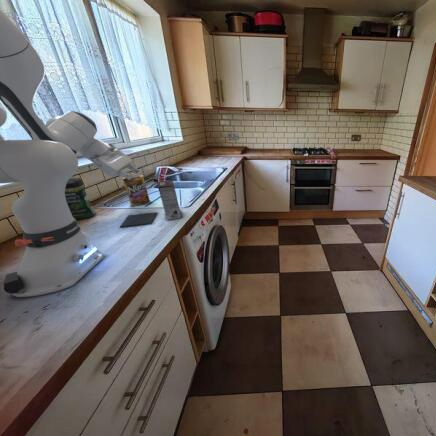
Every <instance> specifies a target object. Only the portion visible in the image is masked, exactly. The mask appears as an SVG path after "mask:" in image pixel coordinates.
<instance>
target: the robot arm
mask: <svg viewBox="0 0 436 436" xmlns="http://www.w3.org/2000/svg"><path fill="white" fill-rule="evenodd" d="M45 73H46V67H45V63H44V61H43V59H42V57H41V55H40V54H39V52H38V51H37V50H36V49H35V47H34V45H32V43H31V42H30V41H29V40H28V38H27V37H26V36H25V35H24V33H23V32H22V31H21V30H20V29H19V27H18V26H17V25H16V24H15V22H14V21H12V20H11V19H10V17H8V15H7V14H6V13H5V12H4V11H3V10H2V8H0V128H1V127H2V126H4V124H6V121H7V118H8V113H7V110H8V112H9V113H10V114H11V115H12V117H14V118H15V120H16V121H17V122H18V123H19V125H20V126H21V127H22V128H23V130H24V131H25V132H26V133H27V134H28V136H29V137H30V138H31V139H7V138H5V137H4V136H3V134H1V133H0V184H14V183H20V184H21V185H22V187H23V195H21V196H19V197H18V198H16V199H15V200H14V201H13V203H12V205H11V212H12V214H13V215H14V217H15V219H16V221H17V222H18V224H19V226H20V227H21V229H22V230H23V231H22V238H21V239H16V240H15V241H14V246H15V247H25V251H24V253H23V255H22V257H21V260H20V263H19V265H18V268H17V271H14V272H10V273H7V274H5V277H4V279H3V283H2V285H3V290H4V291H5V293H8V294H12V296H13V297H16V298H29V297H30V298H31V297H36V296H42V295H48V294H52V293H55V292H59V291H62V290H66V289H68V288H70V287H72V286H74V285H76V284H77V282H78V281H80V280H81V279H82V278H83V277H84V276H85V275H86V274H88V272H90V270H92V269H93V268H94V267H95V266H96V265H97V264H99V262H100V261H101V260H103V259H104V255H103V253H99V252H98V251H97V249H98V248H97V247H95V246H94V244H93V242H92V241H91V239H90V237H89V236H87V235H86V234H84V233H83V232H82V231H81V227H80V224H79V222H78V220H77V219H75V218H73V216H72V214H71V212H70V209H69V207H68V204H67V201H66V198H65V187H66V184H67V182H68V180H69V179H70V178H73V176H74V175H76V173H77V171H78V169H79V160H78V157H77V153H79V154H80V155H81V156H82V157H84V158H85V159H87V160H89V161H90V162H92V163H93V165H94V166H95V168H97V169H98V170H100V171H101V172H103V173H104V174H106V175H108V176H110V177H111V178H112V177H115V176H117V175H118V176H119V177H122V178H123V177H125V178H127V179H129V180H131V179H132V177H133V176H134V175H132V174H131V173H127V172H125V171H124V170H125V169H128V170H130V171H132V173H133V174H135V175H139V173H140V169H138V168H137V167H136V166H135V165H134V164H132V163H133V158H131V157H130V156H128V155H127V154H126V153H124V152H123V151H122V150H119V149H118V148H117V146H116V145H115V144H112V143H107V142H104V141H102V140H100V139H99V138H97V137H96V134H97V132H98V128H97V124H96V122H95V121H94V120H93V119H92V118H90V117H89V116H88V115H86V114H85V113H83V112H80V111H76V110H69V111H66V112H64V113H63V114H62V115H55V116H52V117H51V118H49V119H48V120H47V122H46V123H45V122H44V121H43V120H42V118H41V117H40V116H39V114H38V113H37V112H36V110H35V108H34V99H35V97H36V94H37V91H38V89H39V87H40V86H41V85H42V83H43V81H44V79H45ZM3 105H4V106H3ZM6 109H7V110H6Z"/></svg>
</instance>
